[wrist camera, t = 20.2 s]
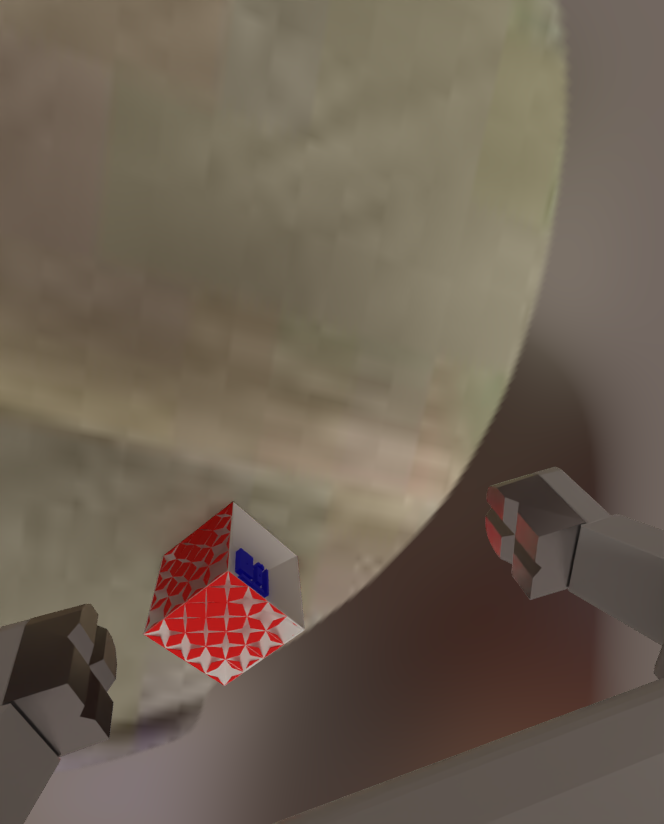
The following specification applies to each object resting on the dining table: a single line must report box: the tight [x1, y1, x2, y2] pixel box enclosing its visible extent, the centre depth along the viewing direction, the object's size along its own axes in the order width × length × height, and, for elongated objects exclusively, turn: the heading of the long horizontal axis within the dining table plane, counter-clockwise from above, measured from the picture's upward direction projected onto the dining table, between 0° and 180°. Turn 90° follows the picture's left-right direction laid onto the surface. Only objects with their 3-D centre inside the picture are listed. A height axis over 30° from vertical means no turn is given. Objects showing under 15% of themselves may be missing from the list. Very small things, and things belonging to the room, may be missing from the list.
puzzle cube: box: [143, 502, 305, 686], centre depth 39 cm, size 8×8×8 cm
